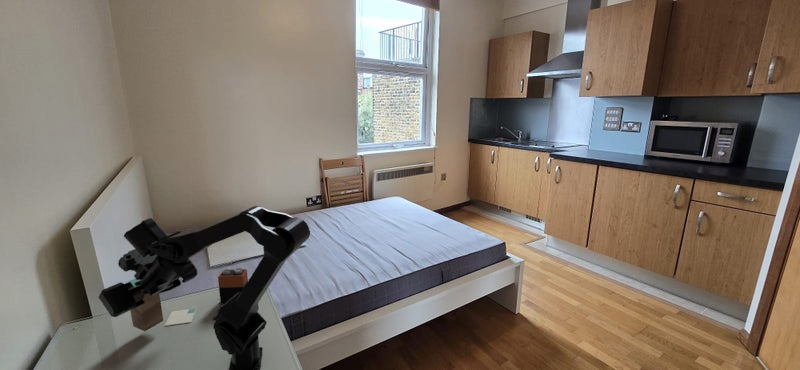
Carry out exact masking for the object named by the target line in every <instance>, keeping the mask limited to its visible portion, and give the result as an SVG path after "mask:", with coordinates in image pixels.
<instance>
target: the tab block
mask: <svg viewBox="0 0 800 370" xmlns="http://www.w3.org/2000/svg"><path fill="white" fill-rule="evenodd" d="M138 281H140V280H136V278H135V277H134V278H133V279H131V280H128V281H126V282H125V283H124V284H126V283H129V282H131V283H132V285H133V286H134V288H135V287H136V286H135V283H136V282H138ZM143 291H144V290H143ZM141 292H142V291H141ZM143 301H144V302H145V303H144V304H142V305H140V306H138V307H136V308H134V309H131V310H129V312H130V316H131V321H132V327H133V328H136V329H138V330H141V331H142V332H143V331H144V332H146V331H148V330H150V329H152V328H154V327H155V326H157V325H159V324H160V323H162V322H164V316H163V309H162V303H161V296H160V293H159V292H158V293H156V294H154V295H152V296H151V295H150V294H149V293H148V294H146V295H144V298H143Z"/></svg>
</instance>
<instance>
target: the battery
mask: <svg viewBox="0 0 800 370" xmlns="http://www.w3.org/2000/svg"><path fill="white" fill-rule="evenodd" d="M248 281H249V279H248V270H247V269H245V268H244V269H243V268H241V267H239V268H235V269H227V268H226V269H223V270H222V271H221V272H220V274H219V275H218V276H217V282H218V289H219V290H218V291H219V301H220V305H224V304H225V303H226V302H227V301H229V300H230V299H231V298H232V297H233V296H235V295H236V294H237V293H238V292H240V293H241V292H242V290H243V289H244V287H245V285H246V284H247V282H248Z"/></svg>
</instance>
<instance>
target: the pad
mask: <svg viewBox="0 0 800 370" xmlns="http://www.w3.org/2000/svg"><path fill="white" fill-rule="evenodd" d="M197 310H198V309H197V308H190V309H189V308H188V309H181V310H174V311H171V312H170V314H169V316H168V318H167V320H166V321H165V324H164V325H163V326H164V327H170V326H176V325H184V324H191V323H192V321H193V320H194V319H193V318H194V317H195V314H196V312H197Z"/></svg>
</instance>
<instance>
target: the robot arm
mask: <svg viewBox="0 0 800 370" xmlns="http://www.w3.org/2000/svg"><path fill="white" fill-rule="evenodd" d="M269 228H273V229H269ZM245 232H246V233H248V234H249V235H250V236H251V237H252V238H253V240H255V243H257V244H259V245H260V246H262V249H263V256H262V258H261V260H260V261H259V262H258V264H257V266H256V268H255V270H254V271H253V273H252V274H251V276H250V278H249V279H248V282H247V284H246V285H245V287H244V289H243V290H242V292H241V293H240V292H238V293H237V294H236V295H235V296H233V297H232V298H231V299H230V300H229V301H227V302H226V303H225V304H221V306H220V308H219V310H218V312H217V315H215V316H214V317H213V318H212V321H214V322H213V325H212V328H213V330H214V334H215V336H216V338H217V341H218V344H219V345H220V347H221V350H223V351H226V352H227V354H228V355H231V359H230V364H229V368H228V370H260V369H261V367H262V360H263V351H264V349H263V347H261V346H260V341H259V339H260V338H259V334H260V333H261V332H262V331H263V330H264V329H265V328H266V326H267V320H266V319H265V318H264V317H263V316H262V315H261V314H260V313H259V312H258V311H259V302H260V301H261V299H262V297H264V295H265V293H266V291H267V290H268V288H269V287H270V285H271V284H272V282H273V281H274V279H275V277H276V276H277V275H278V273H279V272H280V270H281V269H282V268H283V265H284V264H285V262H286V261H287V260H288V259H289V258H290V257H291V256H292V255H293V254H294V253H295V252H296V251H298V249H299V248H300V247H302V245H304V243H305V242H307V240H308V239H309V238H310V236H311V230H310V226H309V225H308V223H307V222H306V221H305V220H304V219H302V218H301V217H298V216H297V217H295V216H292V215H291V214H288V213H286V212H279V211H275V210H269V209H267V208H265V207H263V206H259V205H254V206H251V207H249V208H246V209H245V210H243V211H240V213H237V214H234V215H233V216H229V217H228V218H226V219H223V220H221V221H218V222H216V223H214V224H211V225H207V226H205V225H202V226H201V225H200V226H195V227H190V228H188V229H186V230H184V231H183V230H180V231H175V232H174V233H172V234H168V235H167V234H166V233H165V232H164V231H163V229H161V227H160V226H159V225H158V224H157V222H156V221H155V220H154V219H153V218H151V217H150V218H147V219H144V220H142V221H141V222H140V223H138V224H136V225H135V226H134V227H131V229H129V230H126V232H125V233H124V234H123V238H125V240H127V242H128V243H129V244H130V245H131V246H132V247H133V248H134V249H132V250H129V251H128V252H127V253H124V254H123V255H122V256H121V257H120V258H119V259H118V262H117V265H118V267H119V268H120V269H121V270H123V271H124V272H129V271H132V272H133V271H134V272H135V273H134V275H133V277H134V279H135V278H136V280H140V281H138V282H136V283H135V286H136V287H135V288H134V286H133V285H132V283H131V282H129V283H126V282H125V283H126V284H125V283H123V282H117V283H116V284H113V285H111V286H109V287H106V288H104V289H102V290H101V291H100V293H99V294H98V295H99V296H98V299H99V300H100V302H101V303H102V306H103V307H104V308H105V309H106V311H107V313H108V314H109V315H110V317H113V318H117V317H119V316H121V315H124V314H125V313H127V312H130V310H131V309H134V308H136V307H138V306H140V305H142V304H144V303H145V302H144V301H143V298H144V295H146V294H148V293H149V294H150V295H151V296H152V295H154V294H156V293H158V292H159V294H162V293H165V292H166V293H167V292H169V291H172V290H174V289H176V288H177V287H180V286H181V285H182V283H184V284H185V283H187V282H189V281H191V280H193V279H195V278H196V277H197V275H198V273H199V272H198V268H197V267H196V266H195V264H194V263H193V262H192V260H191V259H190V258H192V257H195V255H196V256H197V254H200V253H201V252H203V251H205V250H206V249H208V248H209V247H210V246H212V245H213V244H216V243H219V242H221V241H224V240H226V239H229V238H232V237H234V236H237V235H239V234H242V233H245ZM180 278H182V280H180ZM143 290H144V291H143ZM141 291H142V292H141Z"/></svg>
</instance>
